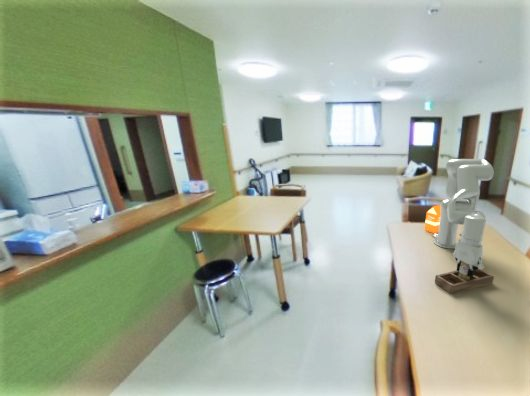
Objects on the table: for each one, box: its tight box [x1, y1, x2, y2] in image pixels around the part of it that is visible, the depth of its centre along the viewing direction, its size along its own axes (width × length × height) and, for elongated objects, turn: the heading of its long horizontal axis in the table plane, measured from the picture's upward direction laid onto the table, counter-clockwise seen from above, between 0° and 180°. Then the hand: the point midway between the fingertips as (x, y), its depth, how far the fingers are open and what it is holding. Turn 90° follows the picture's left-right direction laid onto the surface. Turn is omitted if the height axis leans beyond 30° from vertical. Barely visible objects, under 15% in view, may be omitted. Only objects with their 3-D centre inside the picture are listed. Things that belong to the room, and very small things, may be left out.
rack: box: [434, 269, 495, 295], centre depth 117 cm, size 9×25×4 cm, turn 103°
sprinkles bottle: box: [458, 261, 470, 281], centre depth 115 cm, size 5×5×14 cm
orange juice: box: [424, 204, 441, 234], centre depth 173 cm, size 8×9×20 cm
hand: (464, 272), depth 116 cm, fingers closed on sprinkles bottle, 4 cm apart
